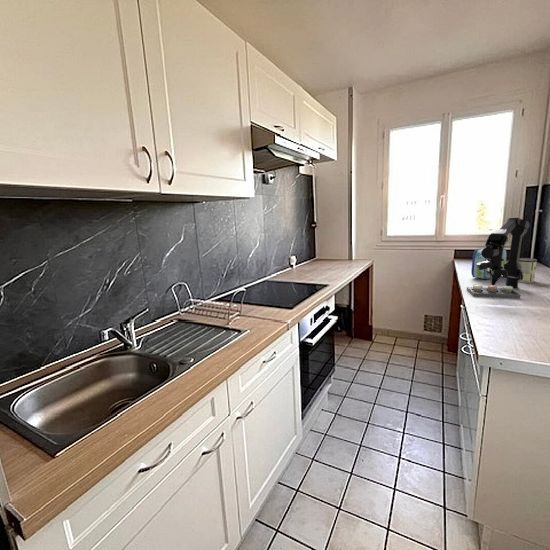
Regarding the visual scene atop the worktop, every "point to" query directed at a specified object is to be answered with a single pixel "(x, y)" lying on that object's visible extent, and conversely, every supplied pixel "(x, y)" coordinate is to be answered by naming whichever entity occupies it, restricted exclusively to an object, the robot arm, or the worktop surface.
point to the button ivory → (477, 287)
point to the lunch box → (479, 258)
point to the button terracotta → (492, 288)
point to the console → (493, 293)
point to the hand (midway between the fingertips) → (492, 284)
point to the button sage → (507, 289)
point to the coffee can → (528, 269)
